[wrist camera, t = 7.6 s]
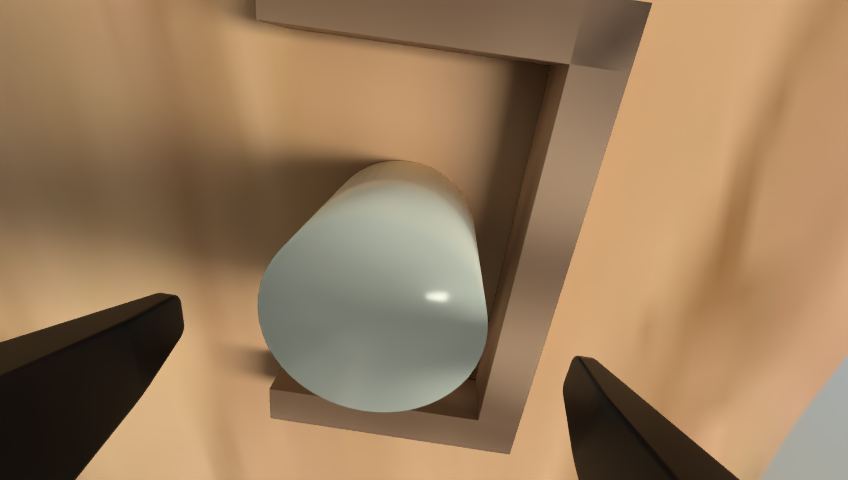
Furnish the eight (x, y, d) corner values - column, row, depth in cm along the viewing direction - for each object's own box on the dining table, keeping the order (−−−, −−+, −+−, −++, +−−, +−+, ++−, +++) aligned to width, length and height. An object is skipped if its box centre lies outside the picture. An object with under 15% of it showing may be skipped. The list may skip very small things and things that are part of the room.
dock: (503, 411, 18) (509, 454, 16) (290, 379, 18) (270, 418, 16) (617, 15, 12) (652, 2, 10) (287, -32, 12) (253, -54, 10)
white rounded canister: (460, 305, 16) (465, 426, 11) (326, 285, 16) (261, 395, 11) (487, 172, 14) (511, 237, 8) (331, 149, 14) (253, 199, 8)
